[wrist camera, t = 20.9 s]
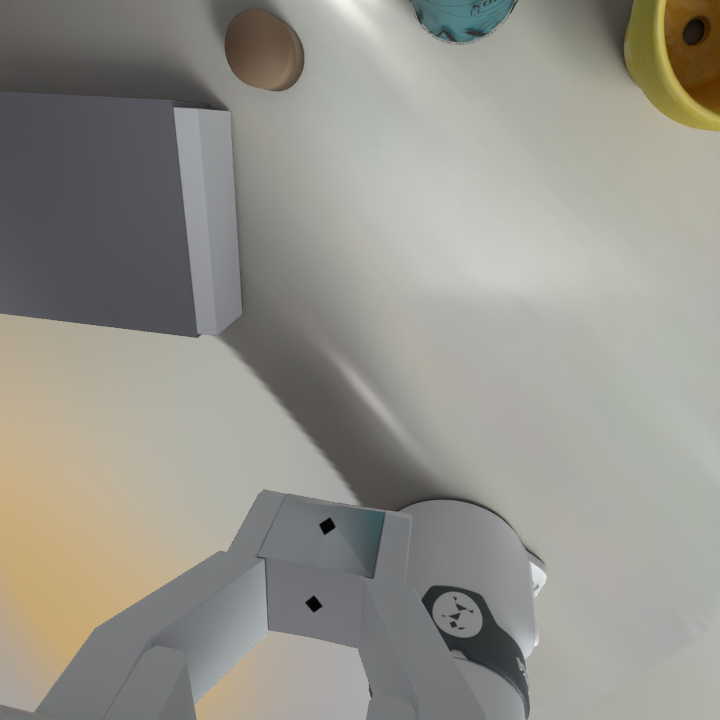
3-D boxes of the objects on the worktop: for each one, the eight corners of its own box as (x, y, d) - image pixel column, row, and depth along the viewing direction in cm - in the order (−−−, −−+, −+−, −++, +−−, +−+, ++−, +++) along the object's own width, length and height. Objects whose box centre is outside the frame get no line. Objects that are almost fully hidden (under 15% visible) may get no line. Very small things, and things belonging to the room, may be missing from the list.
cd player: (208, 104, 34) (172, 100, 30) (225, 315, 41) (197, 337, 37) (-14, 92, 36) (-79, 86, 32) (37, 293, 43) (-10, 312, 39)
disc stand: (304, 92, 33) (288, 88, 30) (248, 89, 33) (227, 85, 30) (304, 21, 31) (287, 9, 28) (245, 20, 31) (222, 8, 28)
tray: (230, 111, 34) (197, 108, 29) (242, 314, 40) (217, 335, 36) (2, 98, 36) (-58, 94, 32) (49, 292, 43) (5, 310, 39)
